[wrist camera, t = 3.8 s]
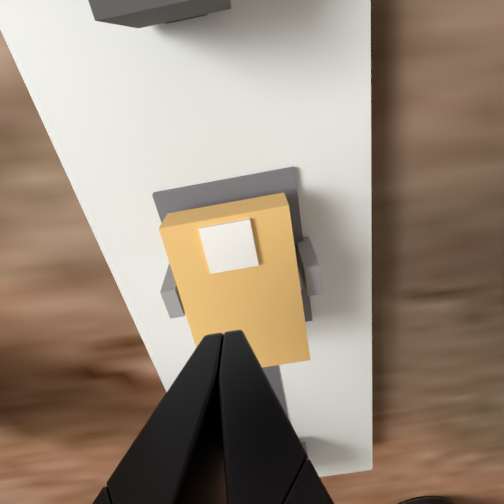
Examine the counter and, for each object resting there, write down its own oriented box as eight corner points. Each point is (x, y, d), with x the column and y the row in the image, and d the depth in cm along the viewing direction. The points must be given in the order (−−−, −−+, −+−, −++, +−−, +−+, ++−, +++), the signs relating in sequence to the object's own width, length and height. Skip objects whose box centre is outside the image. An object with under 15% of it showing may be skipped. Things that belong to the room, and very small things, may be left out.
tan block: (206, 351, 17) (202, 380, 15) (165, 213, 14) (154, 231, 12) (306, 335, 16) (313, 363, 15) (286, 192, 14) (292, 206, 12)
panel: (213, 464, 28) (209, 529, 24) (-55, -171, 11) (-217, -292, 7) (363, 443, 28) (384, 506, 24) (346, -272, 10) (414, -469, 6)
